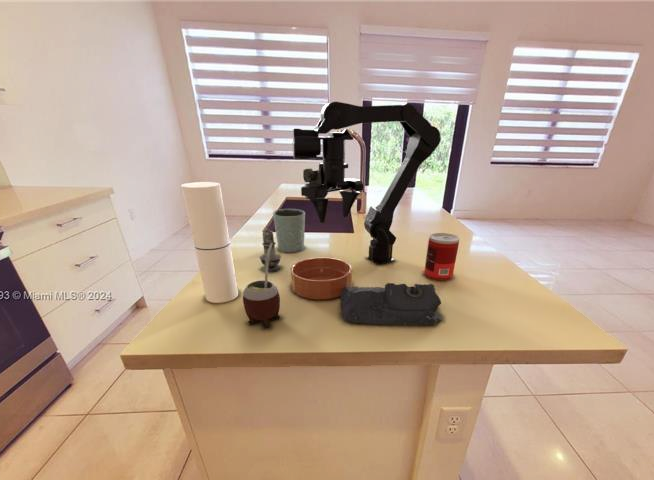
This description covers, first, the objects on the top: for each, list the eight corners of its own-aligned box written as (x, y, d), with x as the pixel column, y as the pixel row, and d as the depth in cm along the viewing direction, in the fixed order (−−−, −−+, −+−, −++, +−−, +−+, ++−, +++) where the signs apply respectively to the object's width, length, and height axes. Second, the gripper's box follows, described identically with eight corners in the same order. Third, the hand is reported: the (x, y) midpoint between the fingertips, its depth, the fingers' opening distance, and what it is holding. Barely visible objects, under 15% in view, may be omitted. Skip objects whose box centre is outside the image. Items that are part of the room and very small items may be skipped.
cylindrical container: (207, 305, 70) (181, 188, 58) (204, 292, 75) (180, 182, 64) (240, 299, 73) (222, 186, 61) (235, 286, 78) (217, 181, 67)
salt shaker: (268, 274, 85) (263, 231, 80) (256, 268, 89) (251, 226, 83) (286, 268, 89) (282, 227, 84) (274, 263, 93) (270, 222, 87)
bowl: (335, 270, 89) (335, 254, 86) (362, 292, 77) (363, 273, 75) (283, 280, 82) (282, 263, 80) (305, 306, 71) (304, 286, 68)
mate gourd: (249, 333, 61) (237, 260, 54) (244, 313, 67) (233, 246, 60) (287, 325, 63) (281, 255, 56) (279, 307, 70) (272, 242, 63)
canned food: (457, 275, 88) (464, 237, 83) (443, 283, 83) (450, 243, 78) (433, 267, 92) (438, 231, 87) (418, 275, 87) (423, 236, 82)
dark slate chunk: (340, 291, 77) (340, 273, 75) (428, 292, 78) (431, 275, 76) (339, 325, 64) (339, 304, 62) (446, 326, 64) (450, 306, 62)
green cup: (291, 241, 111) (289, 207, 105) (313, 247, 106) (311, 211, 100) (269, 249, 104) (265, 212, 98) (291, 255, 98) (288, 217, 93)
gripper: (335, 156, 92) (336, 210, 99) (285, 158, 79) (289, 220, 86) (365, 158, 85) (363, 216, 92) (315, 162, 73) (317, 228, 80)
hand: (334, 219), depth 88 cm, fingers open, 9 cm apart
